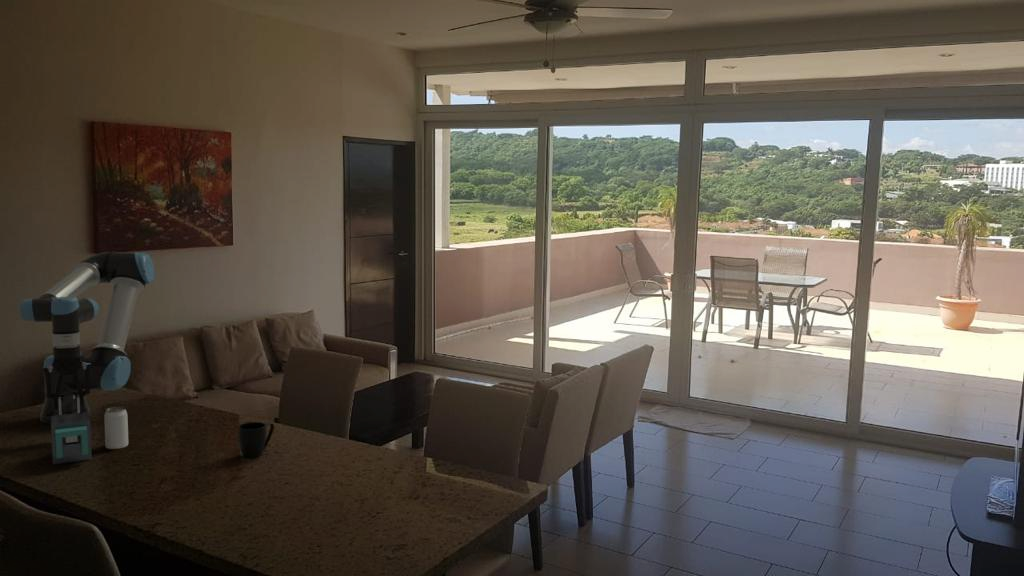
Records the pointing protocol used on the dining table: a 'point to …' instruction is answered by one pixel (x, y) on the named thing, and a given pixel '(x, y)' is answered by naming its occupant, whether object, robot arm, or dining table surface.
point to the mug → (253, 438)
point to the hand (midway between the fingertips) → (69, 417)
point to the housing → (72, 449)
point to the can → (116, 428)
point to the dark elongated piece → (69, 409)
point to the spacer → (71, 432)
